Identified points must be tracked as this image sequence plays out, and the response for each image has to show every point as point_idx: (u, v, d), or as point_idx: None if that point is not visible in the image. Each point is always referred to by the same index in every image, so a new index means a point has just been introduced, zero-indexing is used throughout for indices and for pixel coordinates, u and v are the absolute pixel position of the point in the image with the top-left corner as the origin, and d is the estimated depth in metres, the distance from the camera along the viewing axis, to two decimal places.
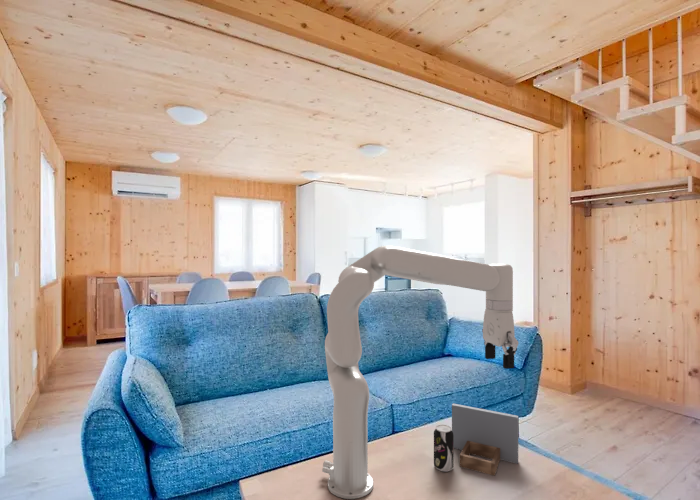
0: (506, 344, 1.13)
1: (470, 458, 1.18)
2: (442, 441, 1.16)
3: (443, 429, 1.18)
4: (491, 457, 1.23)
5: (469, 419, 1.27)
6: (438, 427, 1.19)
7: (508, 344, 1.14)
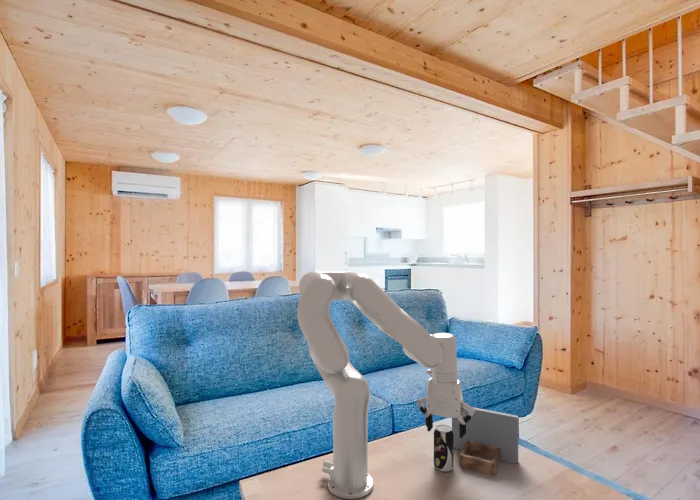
0: None
1: (470, 458, 1.18)
2: (442, 441, 1.16)
3: (443, 429, 1.18)
4: (491, 457, 1.23)
5: None
6: (438, 427, 1.19)
7: (460, 413, 1.16)
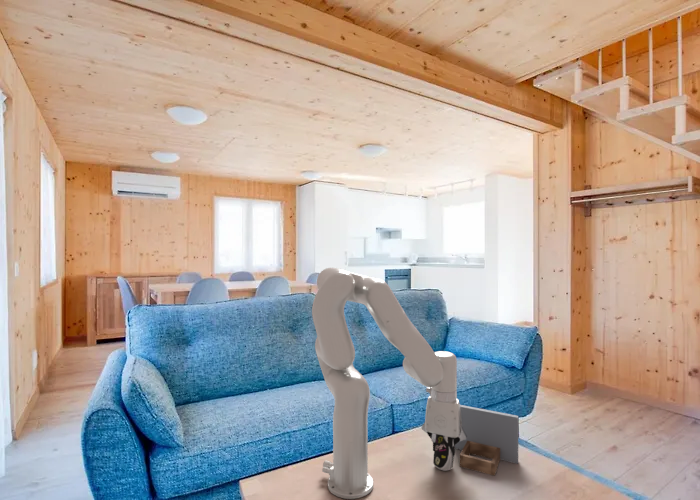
0: None
1: (470, 458, 1.18)
2: (444, 441, 1.15)
3: None
4: (491, 457, 1.23)
5: (469, 419, 1.27)
6: None
7: None
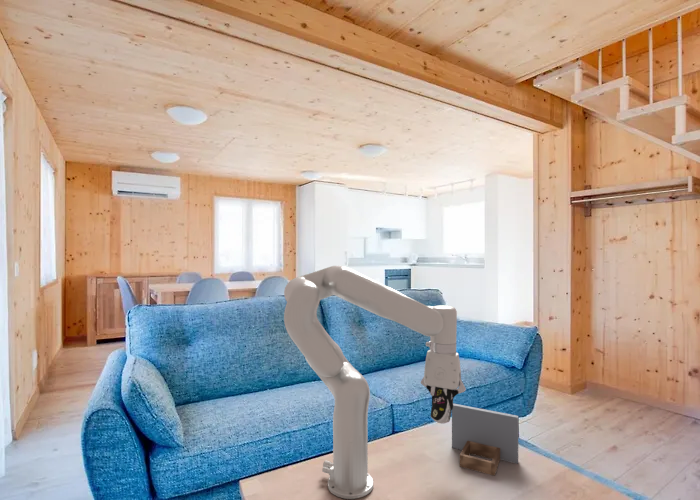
0: None
1: (470, 458, 1.18)
2: (443, 393, 1.15)
3: None
4: (491, 457, 1.23)
5: (469, 419, 1.27)
6: None
7: None
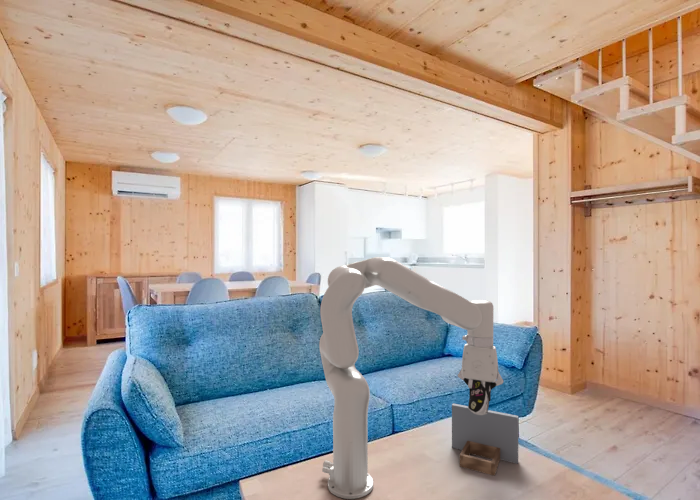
0: None
1: (470, 458, 1.18)
2: (481, 386, 1.18)
3: None
4: (491, 457, 1.23)
5: (469, 419, 1.27)
6: None
7: None
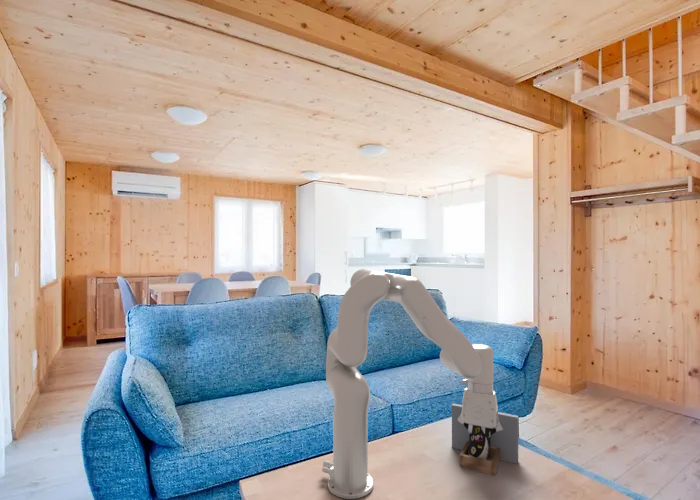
0: None
1: (470, 458, 1.18)
2: (481, 432, 1.18)
3: None
4: (491, 457, 1.23)
5: None
6: None
7: None
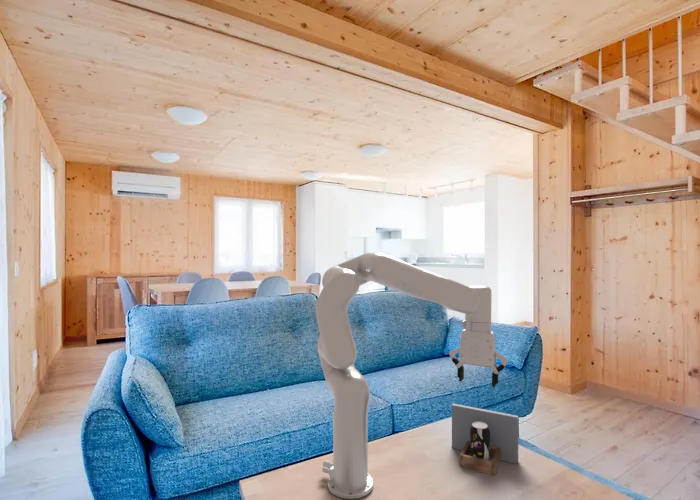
0: None
1: (470, 458, 1.18)
2: (478, 438, 1.18)
3: (479, 426, 1.20)
4: (491, 457, 1.23)
5: (469, 419, 1.27)
6: (474, 424, 1.21)
7: None
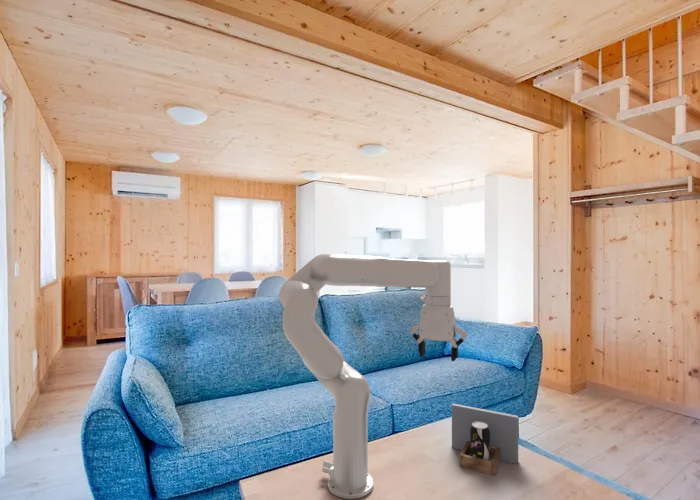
0: None
1: (470, 458, 1.18)
2: (478, 437, 1.18)
3: (479, 426, 1.20)
4: (491, 457, 1.23)
5: (469, 419, 1.27)
6: (474, 424, 1.21)
7: (453, 337, 1.18)
